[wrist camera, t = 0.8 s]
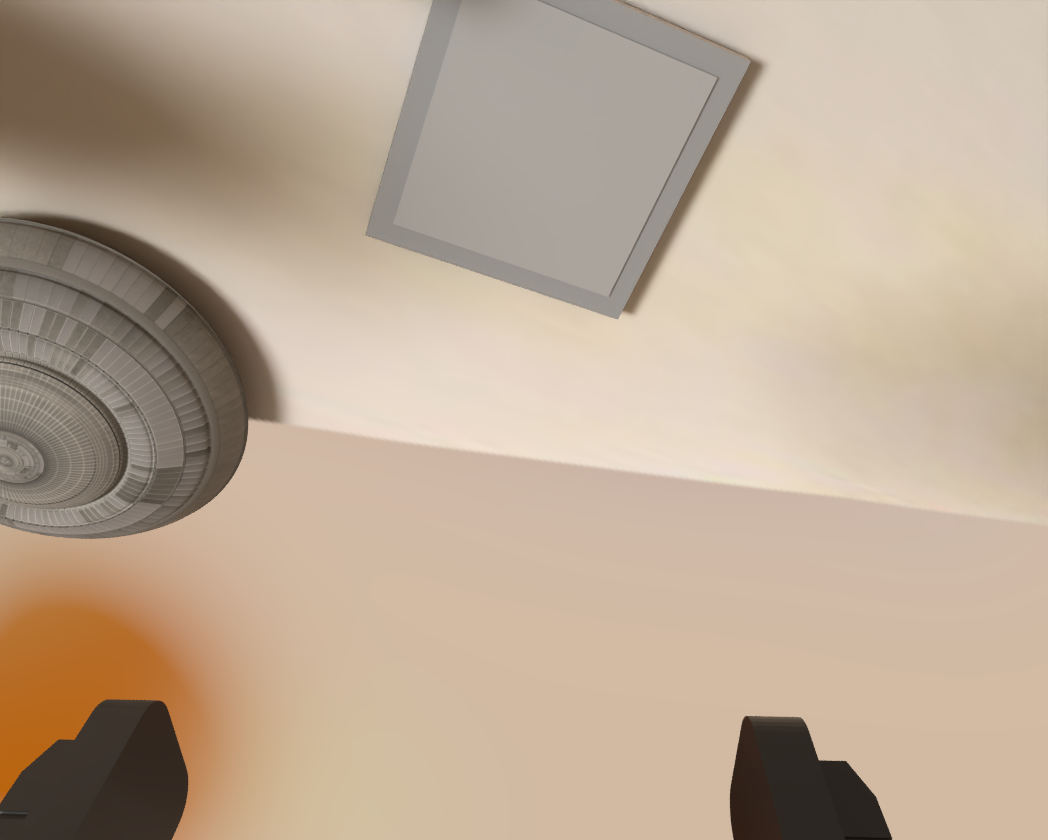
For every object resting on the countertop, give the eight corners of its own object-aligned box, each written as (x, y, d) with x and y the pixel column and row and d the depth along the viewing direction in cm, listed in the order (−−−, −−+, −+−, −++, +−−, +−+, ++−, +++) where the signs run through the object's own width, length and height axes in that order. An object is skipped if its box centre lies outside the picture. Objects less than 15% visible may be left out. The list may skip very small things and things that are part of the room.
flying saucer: (330, 415, 35) (307, 501, 30) (93, 555, 39) (43, 647, 35) (33, 117, 27) (-56, 173, 22) (-221, 333, 31) (-336, 416, 27)
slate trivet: (368, 226, 29) (364, 236, 28) (454, -73, 24) (453, -70, 23) (615, 309, 32) (618, 320, 31) (744, 55, 26) (751, 62, 26)
